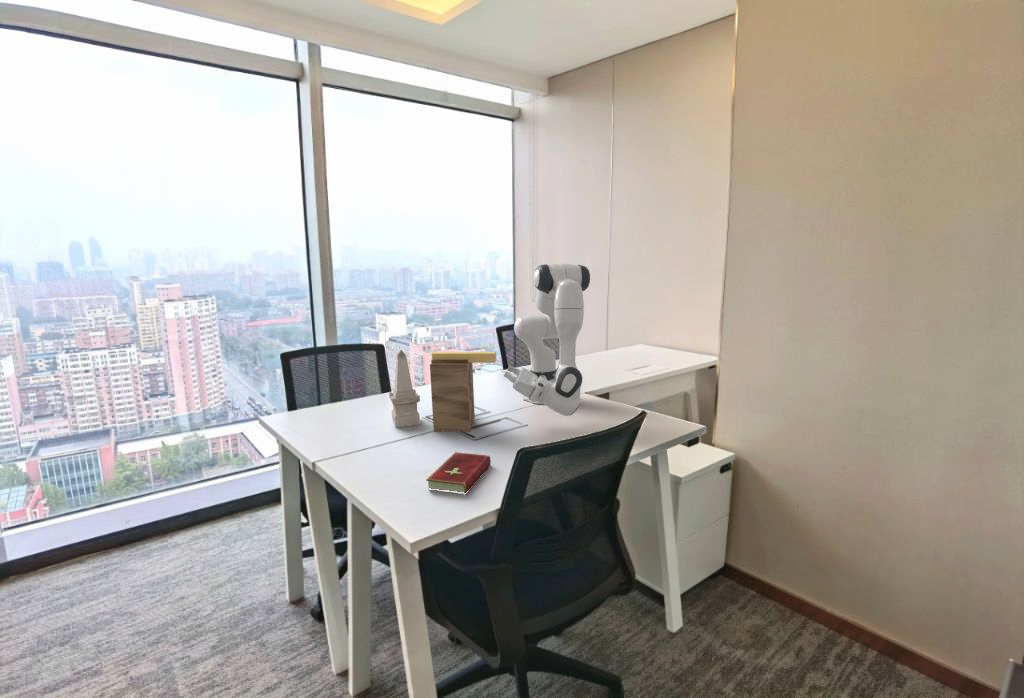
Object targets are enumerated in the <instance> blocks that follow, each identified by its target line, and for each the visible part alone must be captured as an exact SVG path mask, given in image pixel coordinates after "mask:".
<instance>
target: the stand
mask: <svg viewBox="0 0 1024 698" xmlns="http://www.w3.org/2000/svg"><path fill="white" fill-rule="evenodd" d="M473 367H474V366H473V363H468V360H432V359H431V360H430V364H429V371H430V372H429V373H430V389H431V391H430V392H431V406H432V407H431V410H432V425H433V427H432V428H433V432H462V433H463V432H464V433H465V432H467V433H470V432H471V430H472V428H473V427H474V425H475V424H476V420H475V419H476V415H475V414H476V413H475V396H474V395H475V394H474V370H473Z"/></svg>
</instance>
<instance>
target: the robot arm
mask: <svg viewBox="0 0 1024 698" xmlns="http://www.w3.org/2000/svg"><path fill="white" fill-rule="evenodd" d="M533 282H534V286H535V288H536V290H537V293H536V297H535V302H534V303H535V307H536V309H537V310H538V311H539V312H541V313H540V314H538V313H537V314H528V315H527V314H526V315H524V316H523V315H522V316H519V317H518V318H517V319H516V320H515V321H514V325H513V330H514V334H515V336H516V337H517V338H518V339H519V340H521V342H523V343H524V344H525V345H526V347H527V349H528V351H529V357H530V369H527V368H524V367H521V369H519V368H518V367H517V368H516V367H514V366H511V365H509V366H508V367H507V369H506V370H507V371H505V373H504V375H503V377H504V378H506V379H507V380H508V381H510V382H511V383H512V388H513V389H514V390H515V391H516V392H518V393H519V394H521V395H522V396H523V398H522V400H523V401H526V402H529V403H532V404H536V405H545V406H547V407H548V409H550V410H552V411H553V412H555V413H558V414H559V415H563V416H566V417H569V416H572V415H574V414H575V413H576V411H578V409H579V407H580V406H581V389H582V385H583V374H582V372H580V370H579V369H578V367H577V364H576V348H577V347H576V343H577V338H578V336H579V334H580V332H581V329H582V326H583V323H584V316H585V310H584V309H585V305H584V303H585V302H584V295H583V292H584V291H587V289H588V288H589V286H590V282H591V273H590V270H589V269H588V267H587V266H585V265H582V264H577V265H576V264H569V263H558V264H557V263H555V264H546V263H545V264H541V265H538V266H537V267H536V268H535V270H534V274H533ZM548 339H558V342H559V343H558V344H559V351H558V352H559V355H558V356H559V357H558V360H559V361H558V365H556V363H557V362H556V360H557V358H556V356H557V355H556V351H555V350H554V349H553V348H552V347H549V346H546V345H545V343H544V340H548ZM511 373H513V374H514V375H516V376H514V375H512V374H511Z"/></svg>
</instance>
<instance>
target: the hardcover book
mask: <svg viewBox="0 0 1024 698" xmlns="http://www.w3.org/2000/svg"><path fill="white" fill-rule="evenodd" d="M491 462H492V461H491V456H490V455H489V454H477V453H468V452H467V453H466V452H457V451H455V452H454V453H453V454H452V455H451V456H450V457H448V459H446V461H444V462H443V463H442V464H441V465H440V466H439V467H438V468H437V469H436V470H435V471H434V472H432V473H431V474H430V475H429V476H428V477H427V478H426V479H425V480H426V481H427V482H428V489H429V488H431V489H439V490H449V491H457V492H464V493H466V492H467V491H468V490H469V489H470V488H471V487H472V486H473V485H474V483H475V482H476V481H477V480H478V479H479V478H480V479H481V477H482V476H483V475H484V474H485V473H486V472H485V471H488V469H489V468H490V467H491V465H492V464H491ZM489 466H490V467H489ZM488 467H489V468H488ZM484 472H485V473H484ZM483 473H484V474H483ZM482 474H483V475H482ZM481 475H482V476H481ZM480 476H481V477H480ZM480 479H479V480H480ZM479 480H478V481H479ZM478 481H477V482H478ZM477 482H476V483H477ZM476 483H475V484H476ZM474 486H475V485H474ZM474 486H473V487H474ZM473 487H472V488H473ZM472 488H471V489H472ZM471 489H470V490H471ZM470 490H469V491H470Z"/></svg>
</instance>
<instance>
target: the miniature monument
mask: <svg viewBox="0 0 1024 698" xmlns="http://www.w3.org/2000/svg"><path fill="white" fill-rule="evenodd" d="M395 362H396V363H395V364H396V365H395V378H394V388H393V390H392V392H391V391H389V392H388V396H389V400H390V402H391V404H392V410H391V417H392V418H391V419H392V420H393V421H392V422H394V423H393V425H394V427H399V428H403V427H402V426H407V427H413V426H412V425H414V426H420V425H421V421H420V420H421V418H420V413H419V411H418V403H420V402H421V399H420V397H421V396H420V395H419V394H418V393H417V391H416V389H415V388H413V384H412V379H411V373H410V368H409V363H408V358H407V355H406V353H405V352H404V351H403V350H402V349H400V350H399V352H397V353H396V361H395Z"/></svg>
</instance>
